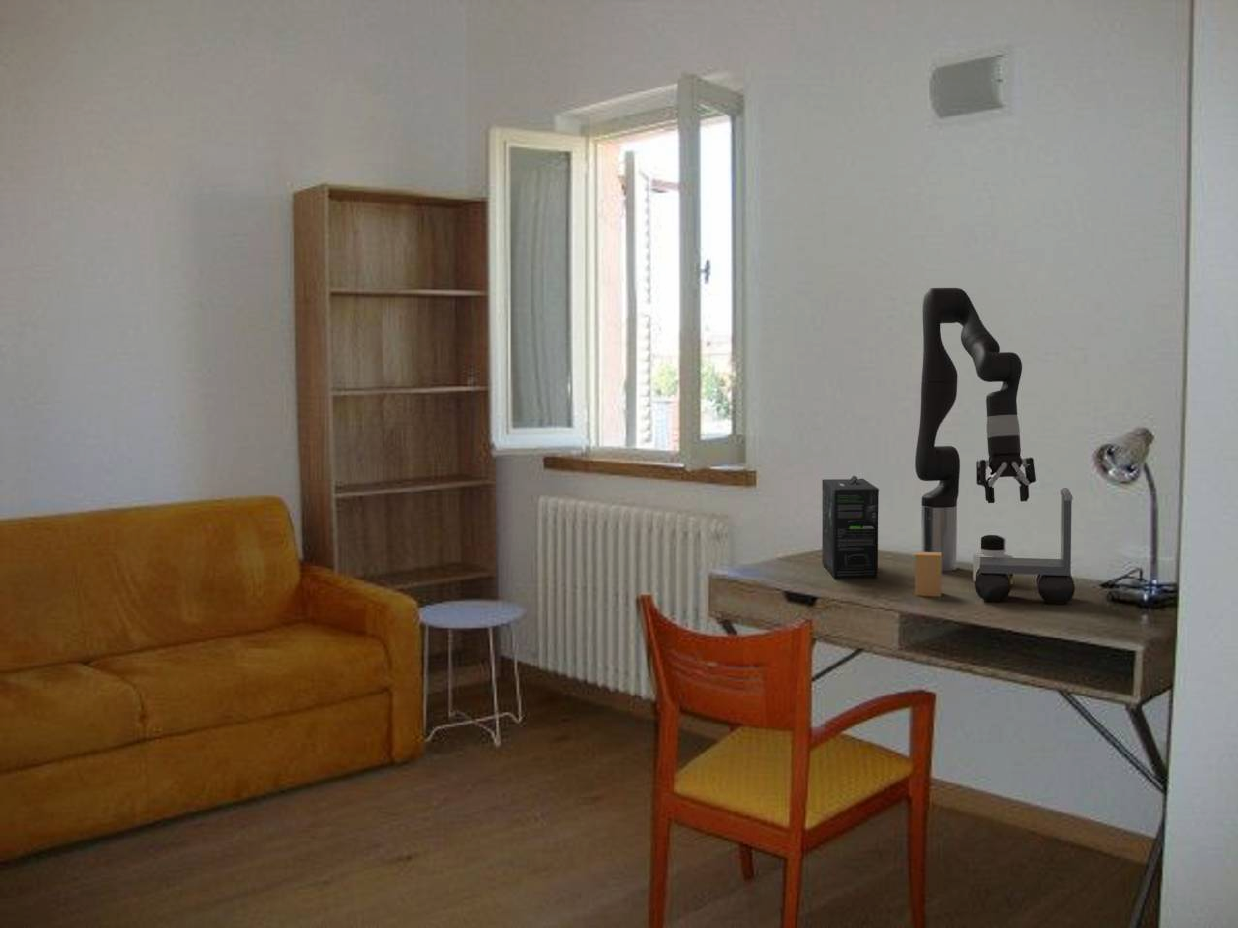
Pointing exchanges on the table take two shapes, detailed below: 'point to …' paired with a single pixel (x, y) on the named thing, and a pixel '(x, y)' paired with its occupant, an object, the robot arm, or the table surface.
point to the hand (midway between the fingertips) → (1007, 502)
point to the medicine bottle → (990, 551)
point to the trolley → (1032, 568)
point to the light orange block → (928, 573)
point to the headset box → (850, 528)
